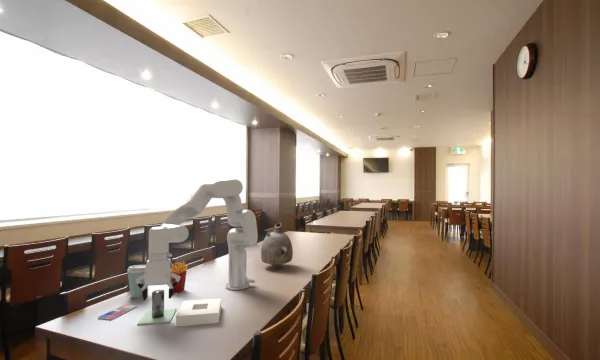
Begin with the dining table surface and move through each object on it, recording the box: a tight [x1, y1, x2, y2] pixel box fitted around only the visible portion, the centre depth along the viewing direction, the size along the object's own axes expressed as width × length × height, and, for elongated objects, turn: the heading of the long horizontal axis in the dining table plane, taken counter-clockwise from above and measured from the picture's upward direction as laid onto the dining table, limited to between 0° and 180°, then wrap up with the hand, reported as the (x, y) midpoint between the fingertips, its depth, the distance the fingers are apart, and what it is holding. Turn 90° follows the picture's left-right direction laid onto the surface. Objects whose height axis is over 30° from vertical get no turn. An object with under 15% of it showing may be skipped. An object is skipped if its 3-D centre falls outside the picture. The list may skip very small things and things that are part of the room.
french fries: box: [171, 260, 189, 294], centre depth 158 cm, size 9×8×15 cm
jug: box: [260, 222, 294, 268], centre depth 204 cm, size 24×21×30 cm
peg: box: [151, 289, 165, 319], centre depth 124 cm, size 5×5×10 cm
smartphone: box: [97, 303, 138, 321], centre depth 129 cm, size 7×1×15 cm
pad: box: [136, 309, 177, 326], centre depth 124 cm, size 12×12×1 cm
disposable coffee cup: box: [126, 264, 146, 299], centre depth 150 cm, size 11×11×15 cm
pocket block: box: [175, 297, 222, 327], centre depth 126 cm, size 16×16×4 cm
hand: (158, 298), depth 124 cm, fingers open, 9 cm apart
